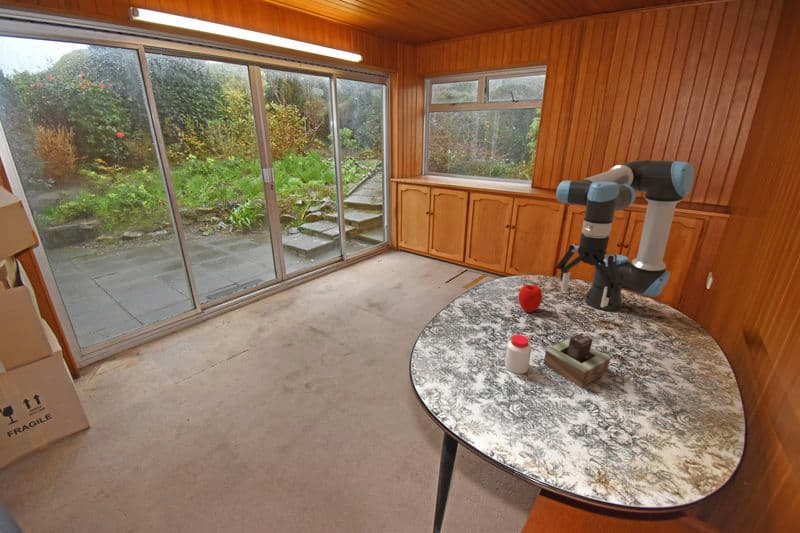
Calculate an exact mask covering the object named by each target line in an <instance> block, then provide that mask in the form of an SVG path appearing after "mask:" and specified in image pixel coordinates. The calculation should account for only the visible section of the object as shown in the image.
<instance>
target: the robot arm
mask: <svg viewBox="0 0 800 533" xmlns="http://www.w3.org/2000/svg"><path fill="white" fill-rule="evenodd" d="M694 182H695V168H694V167H693V165H692V164H691V163H690V162H688V161H679V160H658V159H657V160H655V159H654V160H650V159H641V160H640V159H639V160H632V161H628V162H624V163H620V164H618V165H614V166H612V167H611V168H610V169H609V170H608V171H604V172H601V173H598V174H596V175H595V174H594V175H592V176H589V177H585V178H583V179H581V180H576V181H575V180H563V181H561V182H560V183H559V184H558V186H557V188H556V195H555V196H556V199H557V202H559V203H564V204H567V205H575V206H580V207H581V206H583V207H585V212H584V216H583V224H582V228H581V234H580V239H579V245H578V244H577V243H574V244H570V245H569V246H568V249H567V251H566V253H565V254H564V256H563V257H562V259H561V260H560V261H559V262H558V263H557V265H556V270H560V272H561V273H560V279H559V280H560V281H561V288H560V292H565V291H567V290H568V288H569V283H570V279H571V278H570V277H571V271H570V270H571V269H572V268H575V266H577V265H578V264H580V263H581V262H582V263H583V264H588V265H590V266H594V267H595V268H594V272H593V279H592V284H591V286H590V288H589V289H588V290H587V293H586V294H585V297H584V303H586V305H588V306H589V307H591V308H594V309H597V310H599V311H605V312H607V311H608V312H616V311H620V310H621V309H622V307H623V304H624V302H623V295H622V289H624V290H628V291H630V292H634V293H637V294H641V295H642V296H647V297H651V298H653V297H654V298H655V297H657V296H659V295H660V294H661V293H662V291H663V290H664V288H665V287H666V285H667V283H668V281H669V279H670V276H671V273H670V271H668V270H666V267H667V265H666V263H665V262H664V261H663V260H664V256H665V252H666V247H667V244H668V240H669V237H670V236H669V235H670V231H671V226H672V223H673V219H674V215H675V210H676V207H677V206H676V205H677V204H678V203H680V202H682V201H683V200H684V197H687V196H689V195H690V193H691V191H692V190H693V189H692V188H693V185H694ZM636 192H643V193H645V194H644V199H645V200H646V201H647V202H648V203H647V207H646V213H645V217H644V222H643V227H642V230H641V231H642V232H641V236H640V240H639V247H638V251H637V257H636V258H634V259H632V260H631V262H630V260H629V257H628V256H626V255H622V254H607V249H608V245H609V240H610V237H609V236H610V235H611V232H612V226H613V223H614V222H613V220H614V216H615V212H618V211H623V210H625V209H627V208H629V207H631V206H632V205H633V204H634V202H635V201H636V198H637V194H636ZM576 252H577V254H578V256H577V257H576V258H574V259H573V260H572V261H571V262H569V261H570V259H571V258H572V257H573V256H574V255H575V253H576ZM568 262H569V263H568Z"/></svg>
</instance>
